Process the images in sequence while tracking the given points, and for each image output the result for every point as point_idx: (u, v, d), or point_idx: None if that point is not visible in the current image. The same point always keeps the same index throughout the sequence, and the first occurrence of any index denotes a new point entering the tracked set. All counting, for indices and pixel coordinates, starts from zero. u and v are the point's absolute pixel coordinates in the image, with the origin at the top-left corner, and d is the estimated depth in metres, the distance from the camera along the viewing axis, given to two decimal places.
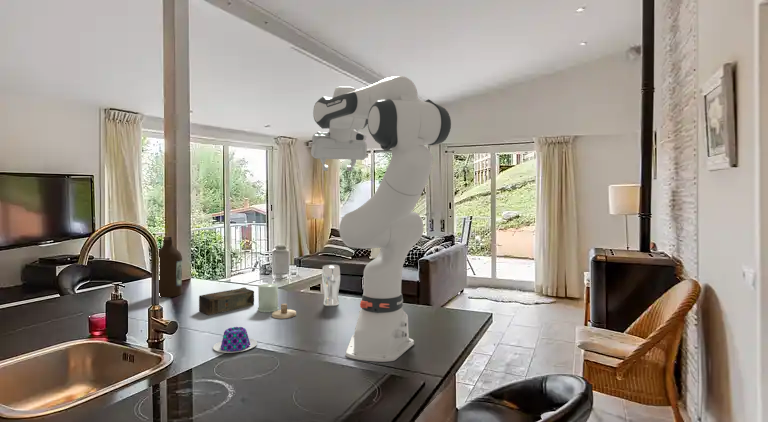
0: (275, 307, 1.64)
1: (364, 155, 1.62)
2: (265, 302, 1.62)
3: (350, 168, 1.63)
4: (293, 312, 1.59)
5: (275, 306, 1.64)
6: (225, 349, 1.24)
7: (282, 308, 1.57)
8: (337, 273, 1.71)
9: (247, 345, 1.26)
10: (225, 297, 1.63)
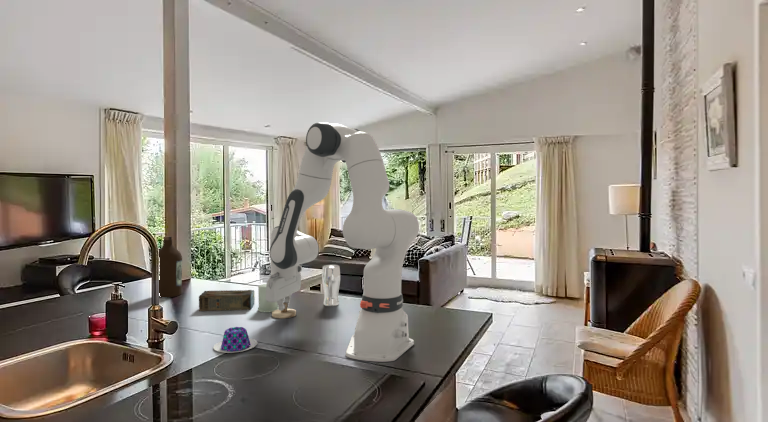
0: (275, 307, 1.64)
1: (300, 285, 1.66)
2: (265, 302, 1.62)
3: (288, 304, 1.60)
4: (293, 311, 1.59)
5: (275, 306, 1.64)
6: (225, 349, 1.24)
7: None
8: (337, 273, 1.71)
9: (247, 345, 1.26)
10: (216, 296, 1.64)
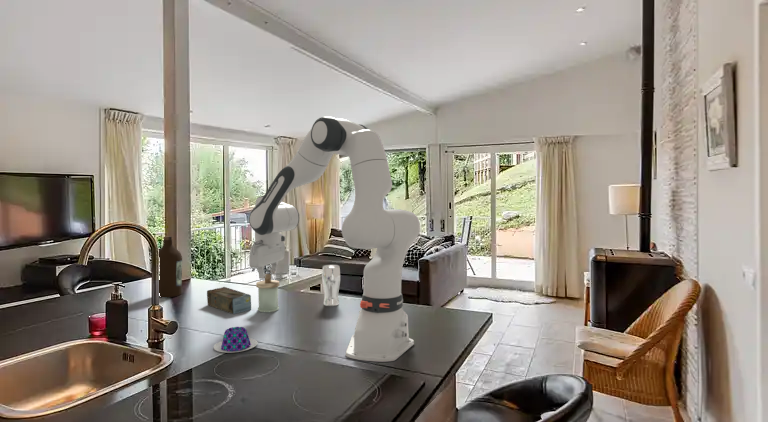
0: (275, 307, 1.64)
1: (284, 255, 1.73)
2: (265, 302, 1.62)
3: (275, 271, 1.69)
4: (276, 282, 1.65)
5: (275, 306, 1.64)
6: (225, 349, 1.24)
7: (266, 278, 1.64)
8: (337, 273, 1.71)
9: (247, 345, 1.26)
10: (215, 294, 1.68)
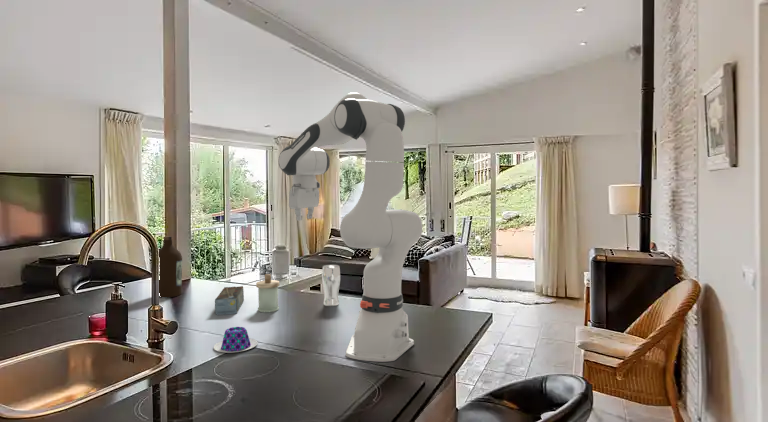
0: (275, 307, 1.64)
1: (318, 202, 1.80)
2: (265, 302, 1.62)
3: (311, 215, 1.76)
4: (276, 282, 1.65)
5: (275, 306, 1.64)
6: (224, 348, 1.25)
7: (266, 278, 1.64)
8: (337, 273, 1.71)
9: (246, 346, 1.26)
10: None
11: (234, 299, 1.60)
